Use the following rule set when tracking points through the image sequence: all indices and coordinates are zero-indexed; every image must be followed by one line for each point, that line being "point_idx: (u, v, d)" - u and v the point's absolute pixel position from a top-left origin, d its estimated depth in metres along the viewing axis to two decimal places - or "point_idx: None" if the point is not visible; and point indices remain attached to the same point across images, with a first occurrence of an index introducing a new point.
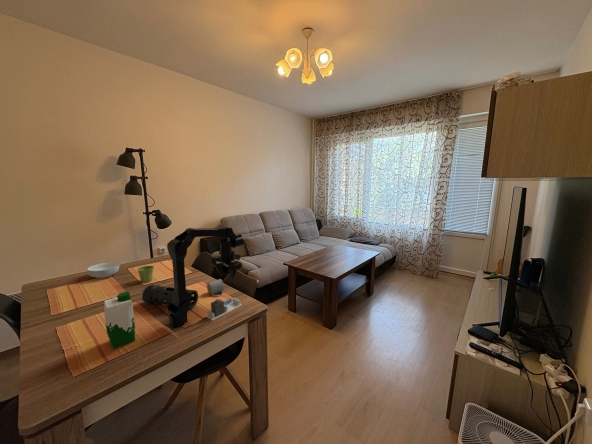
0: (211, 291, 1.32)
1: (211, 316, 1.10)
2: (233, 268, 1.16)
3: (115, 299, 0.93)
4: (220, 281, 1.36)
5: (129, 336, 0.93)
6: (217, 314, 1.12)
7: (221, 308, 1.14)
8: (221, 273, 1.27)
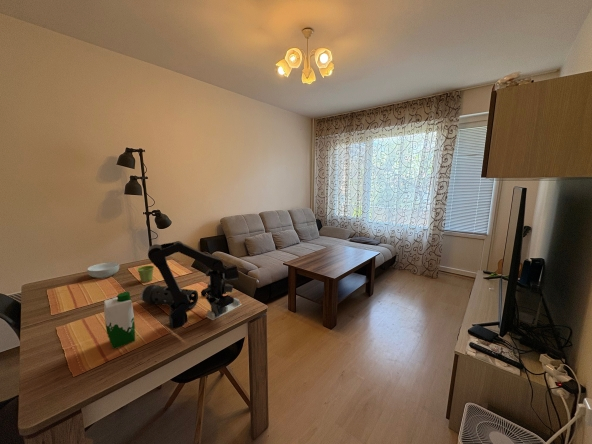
0: None
1: (211, 316, 1.10)
2: (224, 304, 1.06)
3: (115, 299, 0.93)
4: None
5: (129, 336, 0.93)
6: (217, 314, 1.12)
7: None
8: None
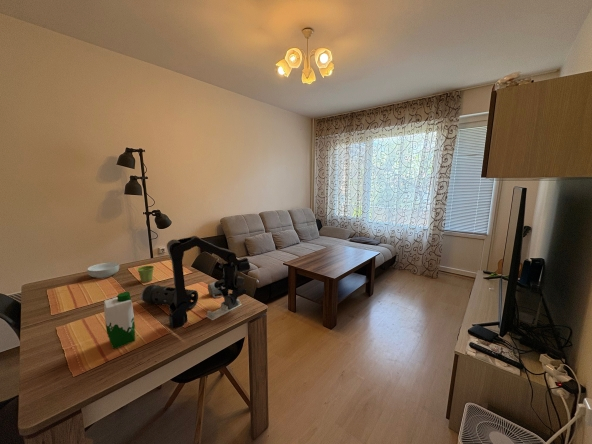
0: (212, 292, 1.31)
1: (211, 316, 1.10)
2: (237, 295, 1.12)
3: (115, 299, 0.93)
4: None
5: (129, 336, 0.93)
6: (230, 307, 1.18)
7: None
8: None
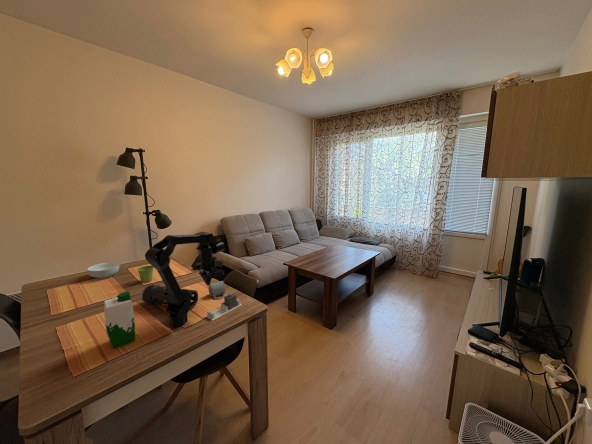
0: (212, 293, 1.29)
1: (211, 316, 1.10)
2: (213, 276, 1.11)
3: (115, 299, 0.93)
4: (222, 283, 1.33)
5: (129, 336, 0.93)
6: (230, 307, 1.18)
7: (234, 301, 1.20)
8: None
